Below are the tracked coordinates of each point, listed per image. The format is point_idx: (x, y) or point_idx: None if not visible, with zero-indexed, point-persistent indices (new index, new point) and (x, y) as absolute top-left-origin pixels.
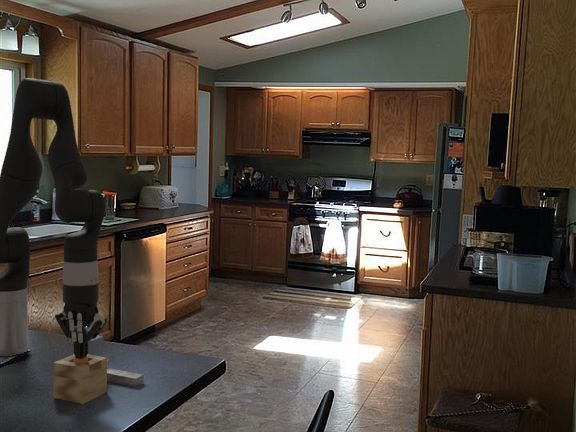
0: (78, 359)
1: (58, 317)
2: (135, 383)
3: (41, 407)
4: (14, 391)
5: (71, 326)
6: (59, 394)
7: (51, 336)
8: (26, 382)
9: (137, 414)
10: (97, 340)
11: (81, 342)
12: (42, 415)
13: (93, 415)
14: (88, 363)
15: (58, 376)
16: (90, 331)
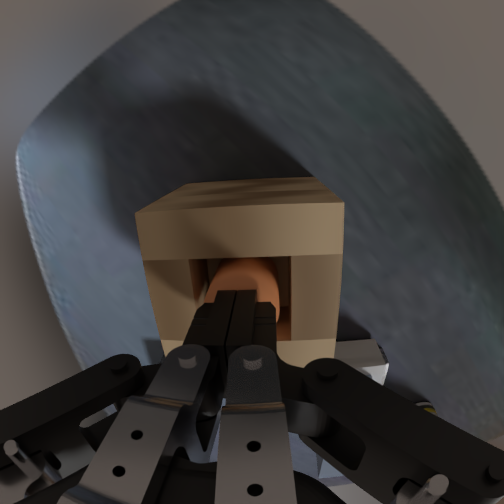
0: (224, 279)
1: (479, 478)
2: (162, 359)
3: (288, 94)
4: (455, 168)
5: (259, 444)
6: (290, 179)
7: (501, 430)
8: (466, 242)
9: (37, 212)
10: (321, 458)
11: (180, 346)
12: (233, 51)
13: (104, 139)
14: (168, 280)
15: (301, 189)
16: (61, 404)
